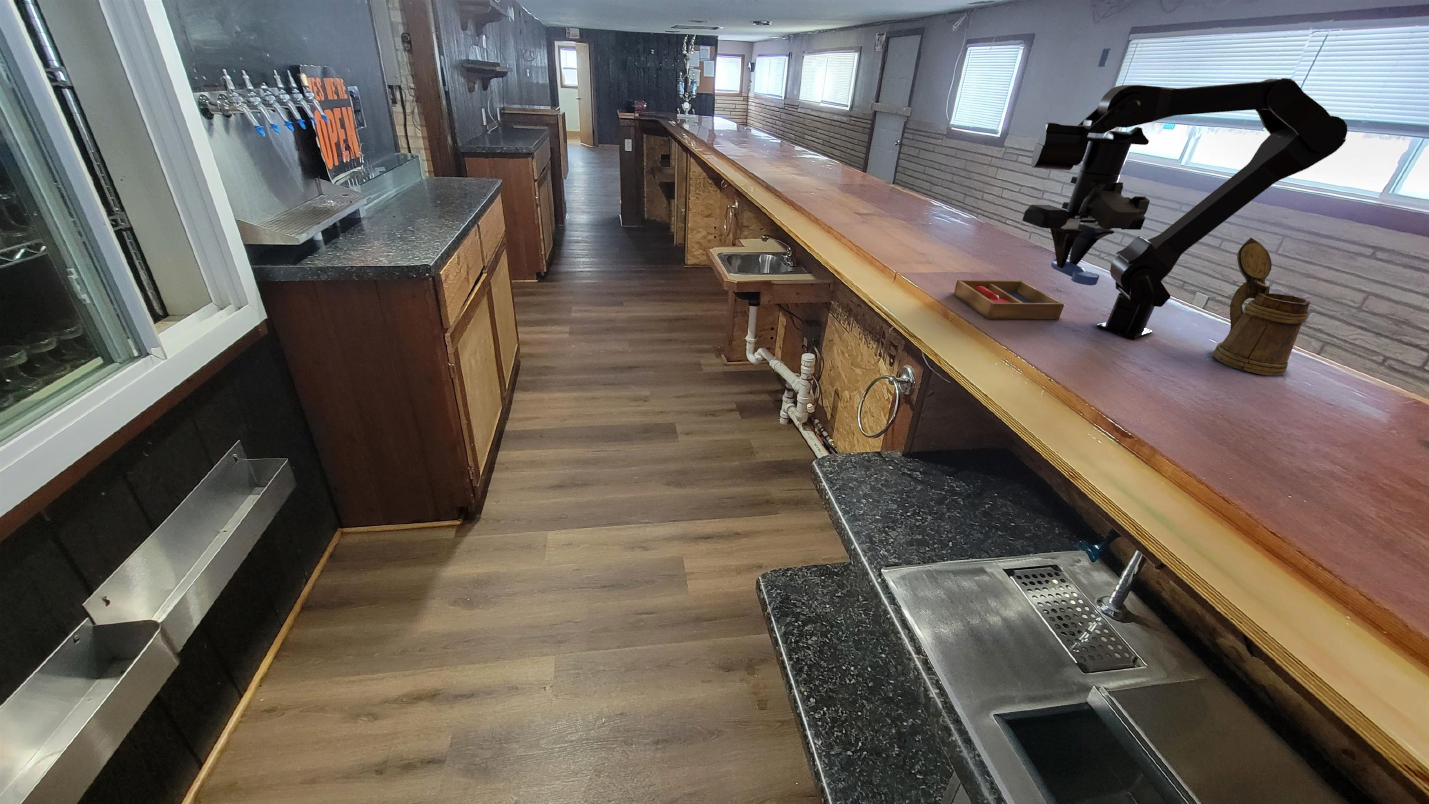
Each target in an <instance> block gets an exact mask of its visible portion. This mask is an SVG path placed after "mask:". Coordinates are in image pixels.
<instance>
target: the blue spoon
mask: <svg viewBox="0 0 1429 804" xmlns="http://www.w3.org/2000/svg"><path fill="white" fill-rule="evenodd" d="M1050 266H1051V268H1052V269H1053V270H1056V271H1058V272H1060V273H1062V274H1064V275H1066V276H1069V277H1071V278H1070V280H1071V282H1074V283H1075V284H1080V285H1084V286H1096V285H1097V284H1098V281H1099V278H1100V275H1099V274H1098V273H1095V272H1091V271H1087V270H1085V269H1084V267H1082V266H1079V265H1078V264H1077V265H1075V264H1073V263H1070V262H1069V261H1068V260H1067V261H1066V263H1065V265H1064V267H1063V268H1060V267H1058V266H1057V262H1056V258H1053V260H1052V261H1051V264H1050Z"/></svg>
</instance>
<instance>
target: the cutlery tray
mask: <svg viewBox="0 0 1429 804" xmlns="http://www.w3.org/2000/svg"><path fill="white" fill-rule="evenodd" d="M978 286H983V287H985V288H986V289H988V290H989V291H991V292H993V293H994V294H996V295H997V296H998V297H999V299H1004V300H1007V301H1009V302H1010V303H994V302H992V301H991V300H989V299H988V298H986V297H985V296H983V295H982V294H980V293H979V292H977V291H976V290H975V289H976V288H977V287H978ZM953 295H954V296H955V297H957V298H958V299H960V300H961V301H962V302H964V303H965V304H967V305H968V306H969V307H971V308H972V309H974V310H975V311H976V312H977V313H979V314H981V315H982V316H983V317H985V318H986V319H987V320H1060V317H1061V315H1062V312H1063V311H1064V306H1065V303H1063V302H1061V301H1060V300H1057V299H1056V298H1054V297H1052V296H1051V295H1049V294H1047V293H1045V292H1044V291H1042V290H1040V289H1038V288H1036V287H1034V286H1032V285H1030V284H1029V283H1027V282H1025V281H1023V280H1010V279H1009V280H1007V279H1006V280H1005V279H1004V280H1001V279H999V280H998V279H997V280H995V279H994V280H993V279H992V280H991V279H989V280H988V279H985V280H984V279H956V284H955V287H954V291H953Z"/></svg>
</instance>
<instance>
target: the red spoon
mask: <svg viewBox="0 0 1429 804" xmlns="http://www.w3.org/2000/svg"><path fill="white" fill-rule="evenodd" d="M975 290H976V291H977V292H979V293H980V294H982V295H983V296H985V297H986V298H988V299H989V300H991V301H992V302H994V303H1010V302H1009V301H1007V300H1004V299H999V297H998V296H997V295H996V294H994V293H993V292H991V291H989V290H988V289H986V288H985V287H983V286H978V287H977V288H976V289H975Z"/></svg>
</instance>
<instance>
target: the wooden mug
mask: <svg viewBox="0 0 1429 804" xmlns="http://www.w3.org/2000/svg"><path fill="white" fill-rule="evenodd" d="M1236 260H1237V261H1236V262H1237V267H1238V269H1239V272H1240V274H1241V275H1242V276H1243V278H1244V279H1245V282H1244V283H1242V284H1241V285H1240V286H1239V287H1238V288H1237V289H1236V291H1235V292H1234V294H1233V295H1232V297H1231V301H1230V304H1229V320H1230V325H1229V326H1230V329H1229V331H1228V334H1226V335H1227V336H1225V338H1224V339H1223V341H1220V342H1218V343H1217V345H1216V346H1215V349H1214V350H1213V353H1212V355H1213V358H1214V359H1216V360H1217V361H1218V362H1220V363H1221V364H1224V365H1225V366H1228V367H1230V368H1233V369H1237V370H1240V371H1244V372H1248V373H1251V374H1256V375H1262V376H1282V375H1284V374H1285V373H1286V372H1287V369H1288V365H1289V362H1288V361H1289V359H1290V356H1291V354H1292V351H1293V349H1294V346H1295V343H1296V341H1297V338H1298V335H1299V333H1300V330H1301V328H1302V326H1303V323H1305V322H1307V319H1308V316H1309V313H1310V312H1309V307H1310V304H1311V300H1309V299H1307V298H1304V297H1301V296H1297V295H1293V294H1287V293H1286V294H1285V293H1277V292H1270V290H1271V287H1270V286H1269V285H1267V283H1266V279H1267V278H1268V277H1269V275H1270V273H1271V272H1272V266H1273V264H1272V258H1271V255H1270V253H1269V252H1268V250H1267V249H1266V248H1265V246H1264V245H1263V244H1261V243H1260V242H1259V241H1257V240H1256V239H1255V238H1253V237H1249V239H1247V240H1246V241H1245V242H1244V243H1243V244H1242V245H1241V246H1240V248H1239V249H1238V251H1237V254H1236ZM1249 299H1251V300H1250V301H1249V302H1247V303H1246V304H1245V306H1244V307H1243V305H1244V303H1245V302H1246V301H1247V300H1249Z"/></svg>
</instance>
